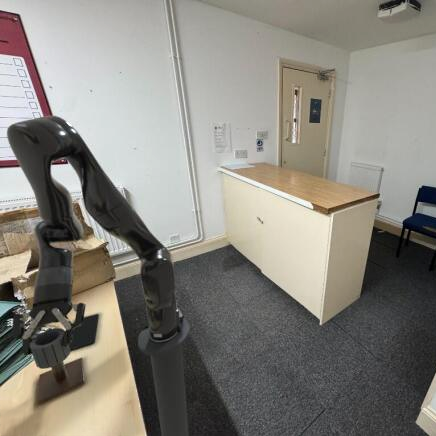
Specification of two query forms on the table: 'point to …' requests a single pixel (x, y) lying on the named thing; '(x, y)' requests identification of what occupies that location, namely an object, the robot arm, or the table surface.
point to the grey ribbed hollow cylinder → (49, 348)
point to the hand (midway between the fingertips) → (47, 350)
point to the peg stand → (60, 379)
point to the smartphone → (85, 333)
